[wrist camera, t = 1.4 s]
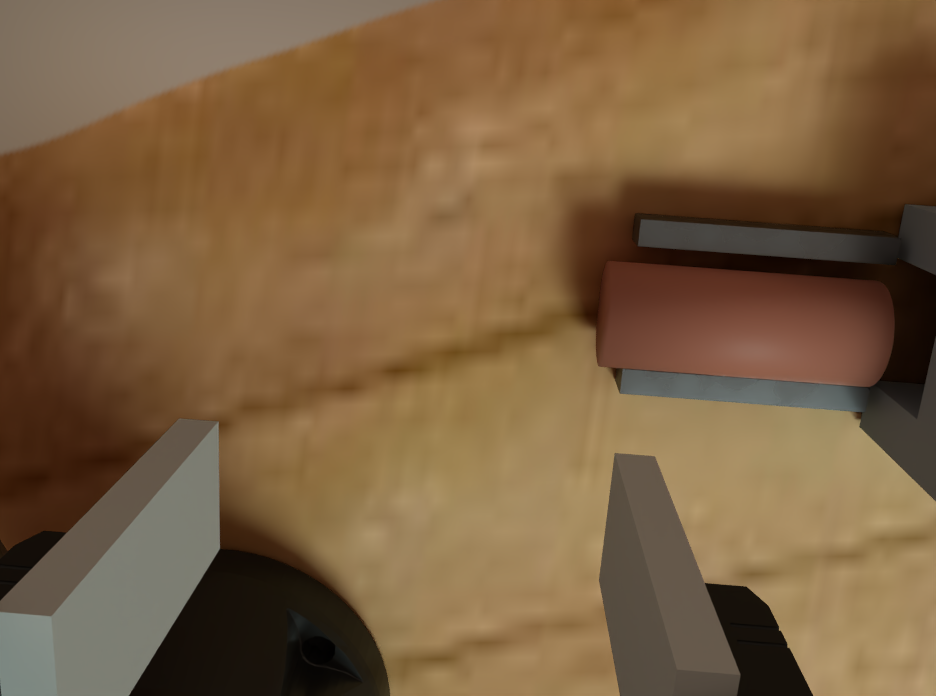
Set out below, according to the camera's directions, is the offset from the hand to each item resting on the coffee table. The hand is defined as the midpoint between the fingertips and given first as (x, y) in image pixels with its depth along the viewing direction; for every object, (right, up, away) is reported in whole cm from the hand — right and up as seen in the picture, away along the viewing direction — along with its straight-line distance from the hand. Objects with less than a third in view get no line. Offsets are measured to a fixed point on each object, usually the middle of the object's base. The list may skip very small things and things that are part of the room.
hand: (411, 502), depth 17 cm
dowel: (+11, +5, +18) cm, 22 cm away
